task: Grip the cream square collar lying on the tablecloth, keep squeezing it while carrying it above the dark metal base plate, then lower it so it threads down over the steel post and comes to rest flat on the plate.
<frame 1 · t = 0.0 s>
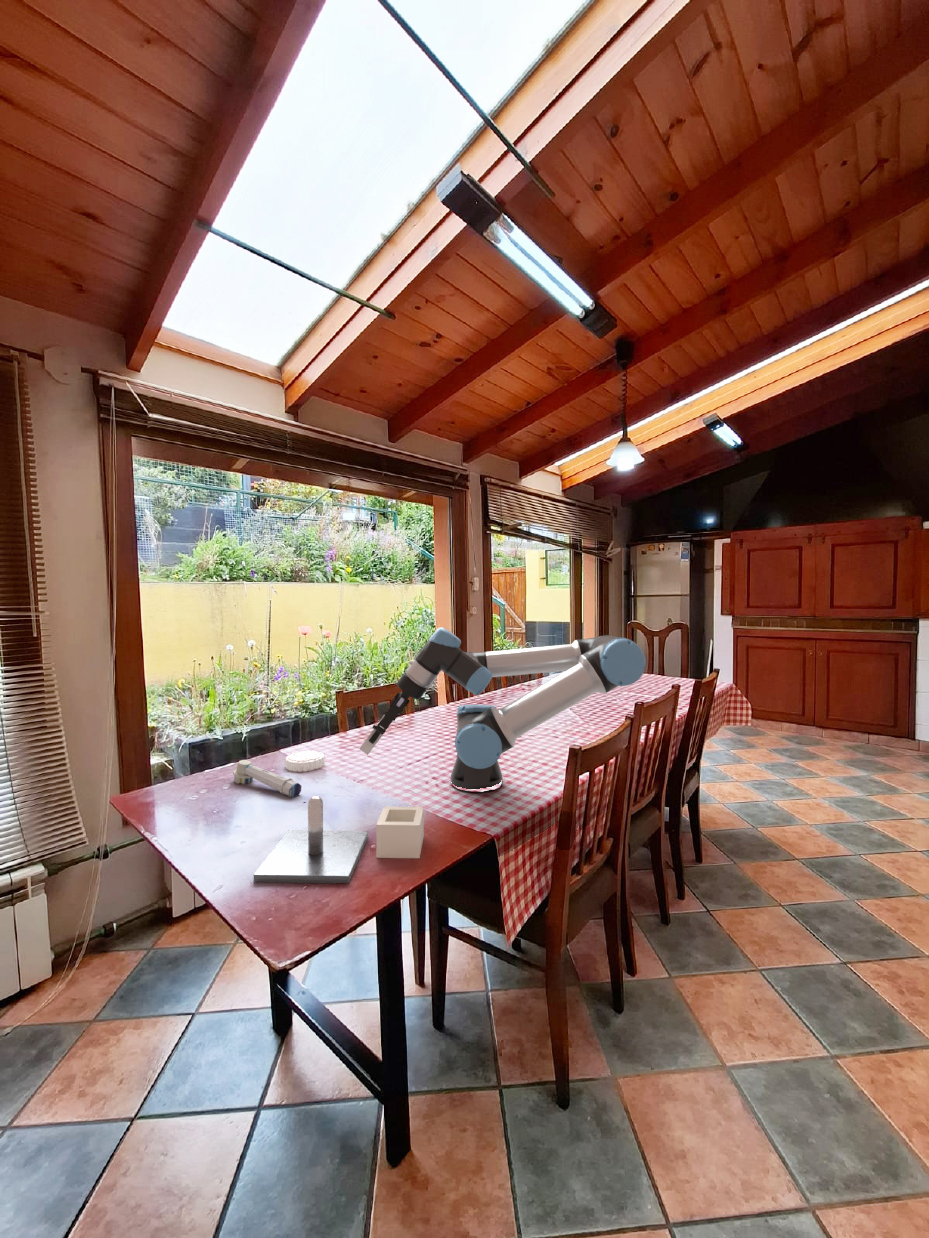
hand: (369, 743, 132), 15 cm above the table, tool tilted 35°, fingers open, 13 cm apart
mooncake: (305, 766, 160), on the table
post base: (315, 858, 103), on the table
collar: (400, 847, 108), on the table
toothbrush head: (265, 789, 141), on the table
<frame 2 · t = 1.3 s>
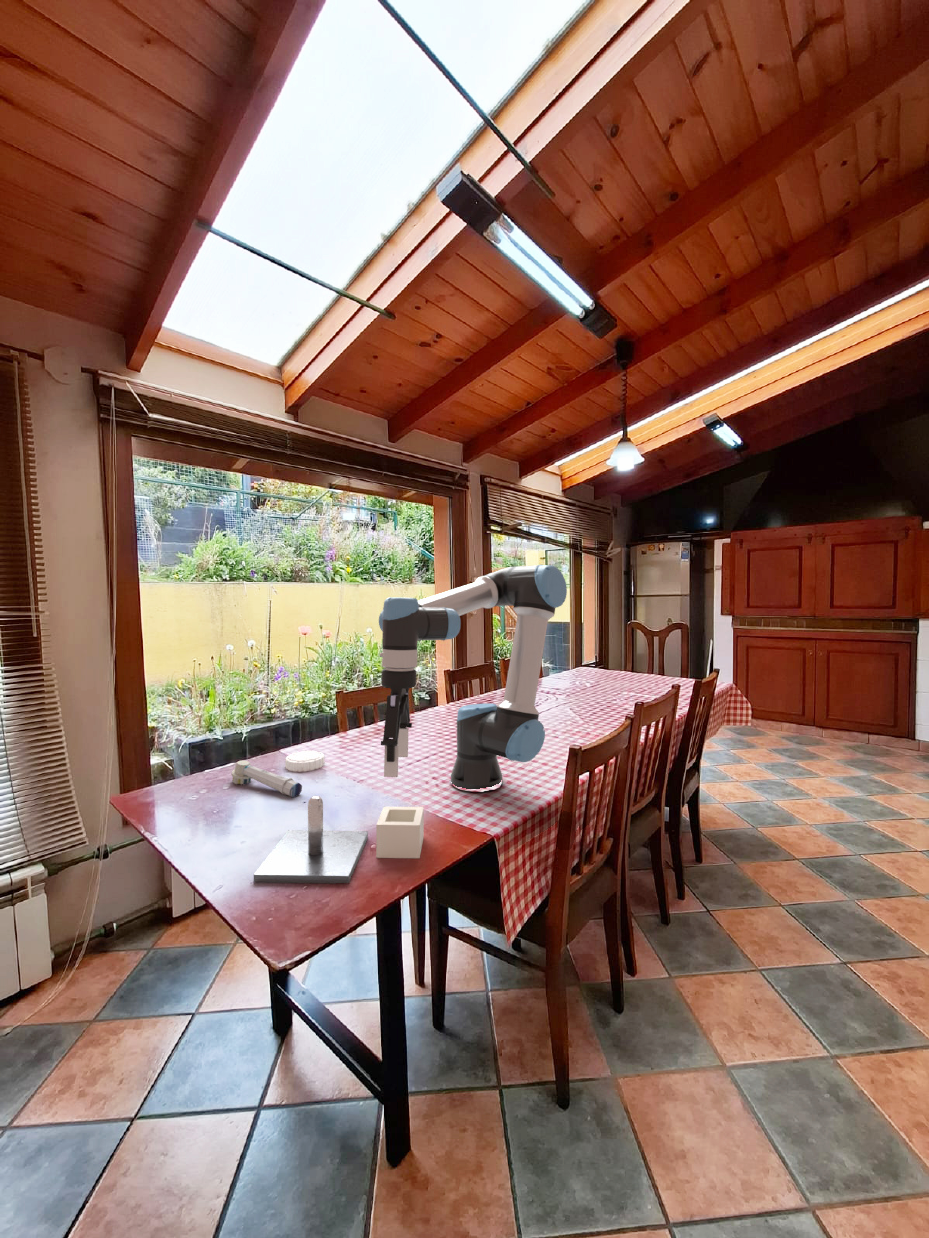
hand: (396, 766, 108), 17 cm above the table, tool pointing down, fingers open, 13 cm apart
nothing on the table moved.
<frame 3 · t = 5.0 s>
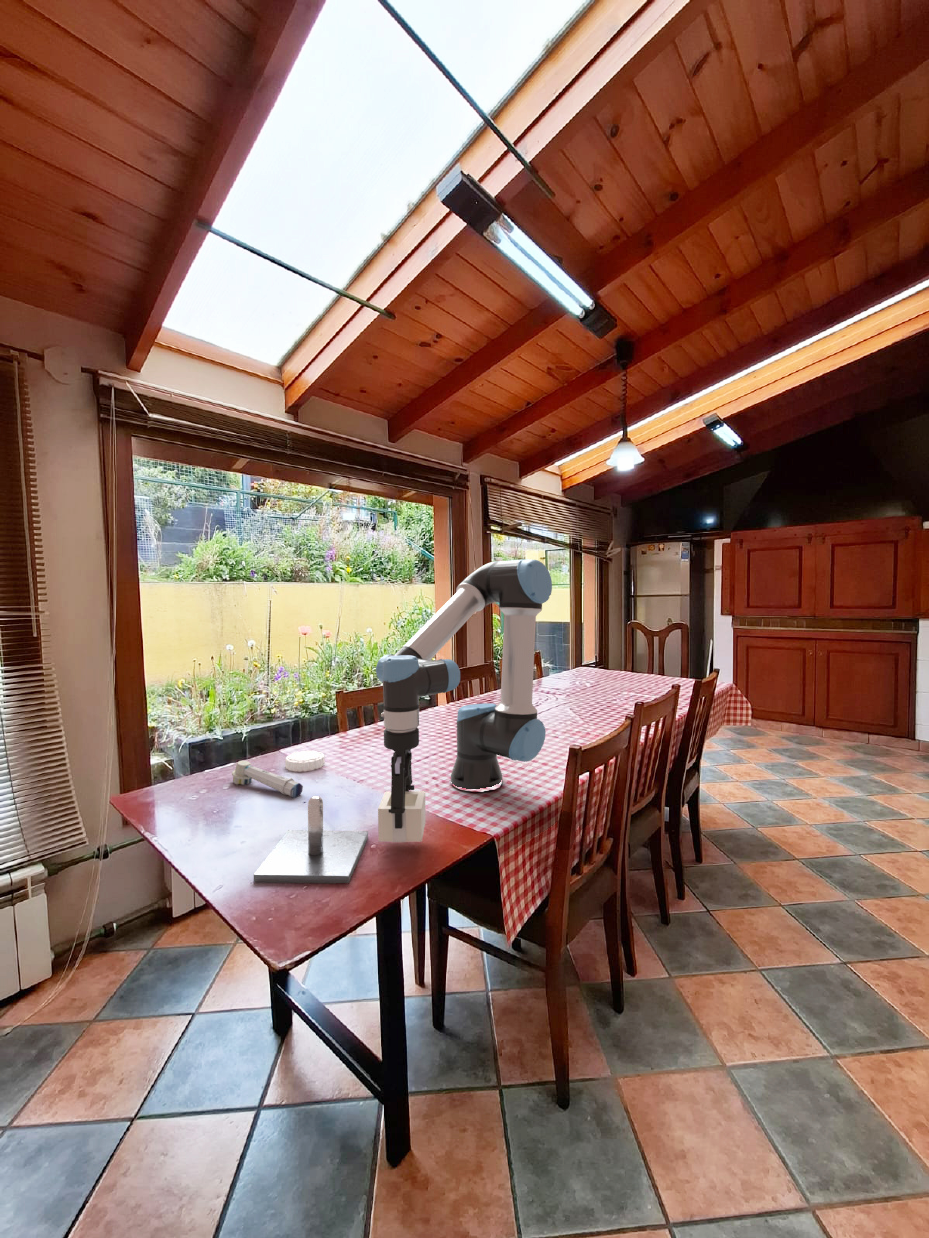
hand: (402, 829, 108), 4 cm above the table, tool pointing down, fingers closed on collar, 9 cm apart
collar: (403, 831, 108), point 3 cm above the table, touching gripper
everything else where it was.
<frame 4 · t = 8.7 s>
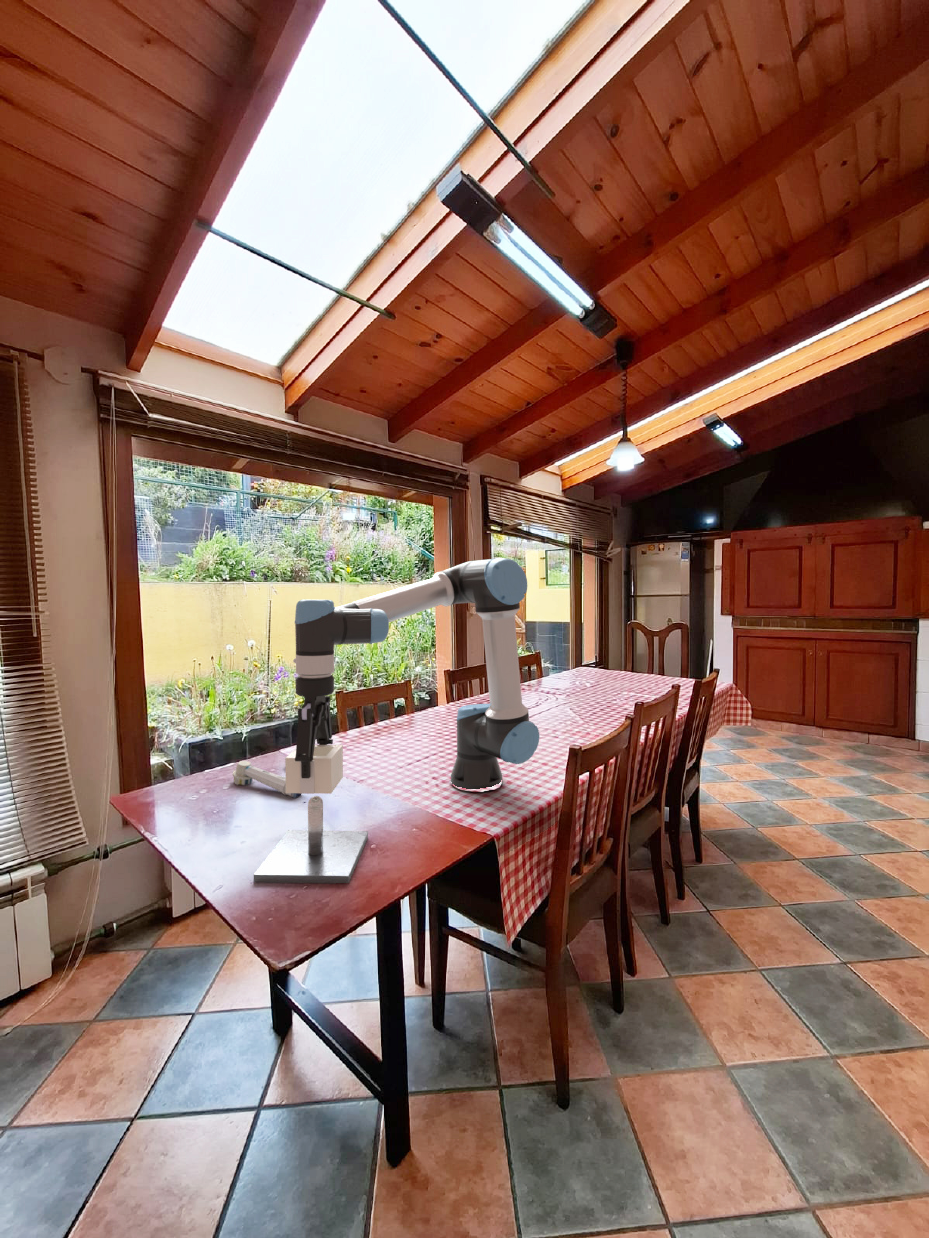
hand: (315, 783, 102), 16 cm above the table, tool pointing down, fingers closed on collar, 9 cm apart
collar: (315, 784, 102), point 15 cm above the table, touching gripper
everything else where it was.
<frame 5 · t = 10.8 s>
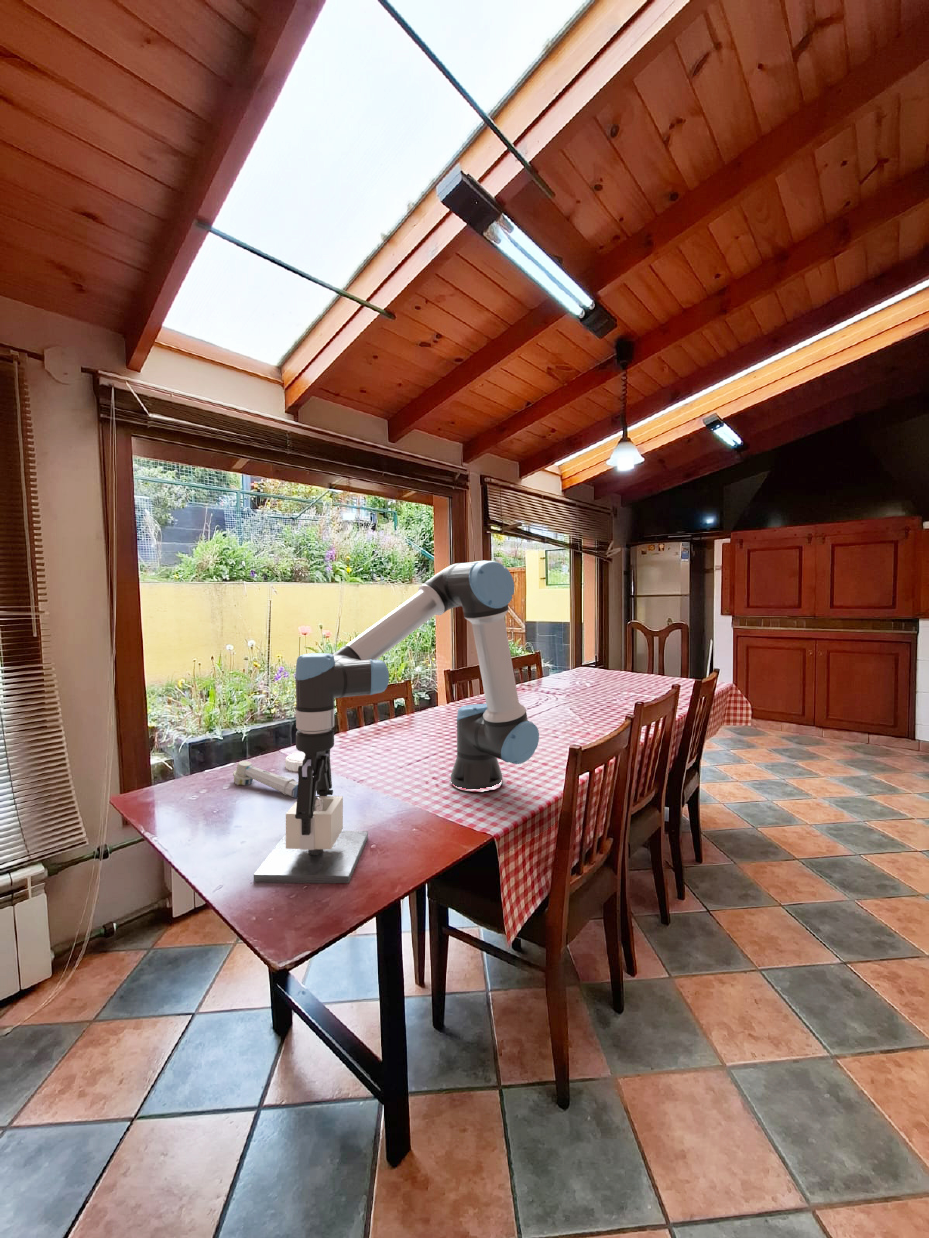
hand: (315, 836, 103), 5 cm above the table, tool pointing down, fingers closed on collar, 9 cm apart
collar: (315, 837, 103), point 4 cm above the table, touching gripper
everything else where it was.
when the fingers open (2 cm above the table, at t = 12.4 s): collar stays where it is, resting on post base.
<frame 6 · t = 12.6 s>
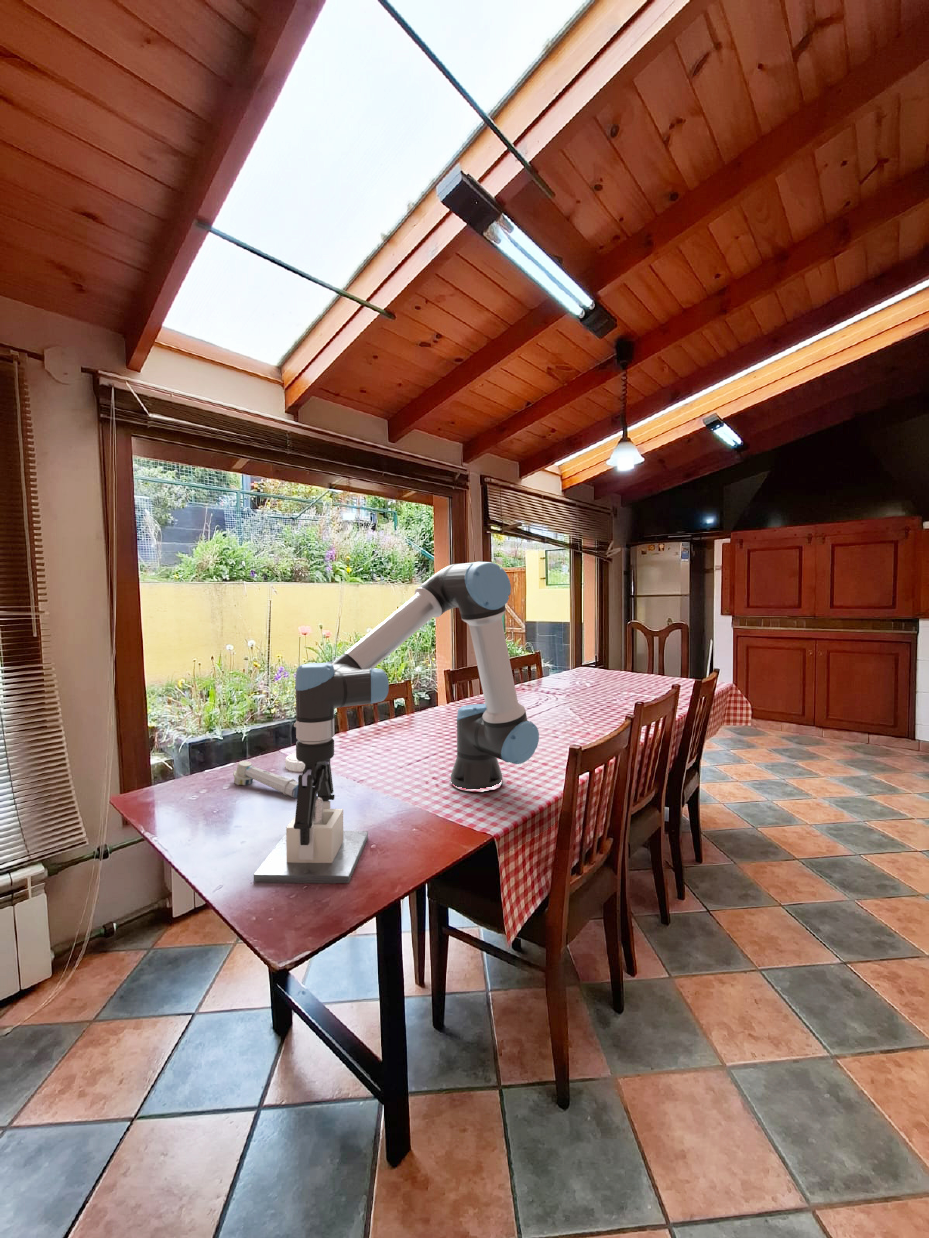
hand: (315, 844, 103), 3 cm above the table, tool pointing down, fingers open, 11 cm apart
collar: (316, 851, 103), point 1 cm above the table, touching post base
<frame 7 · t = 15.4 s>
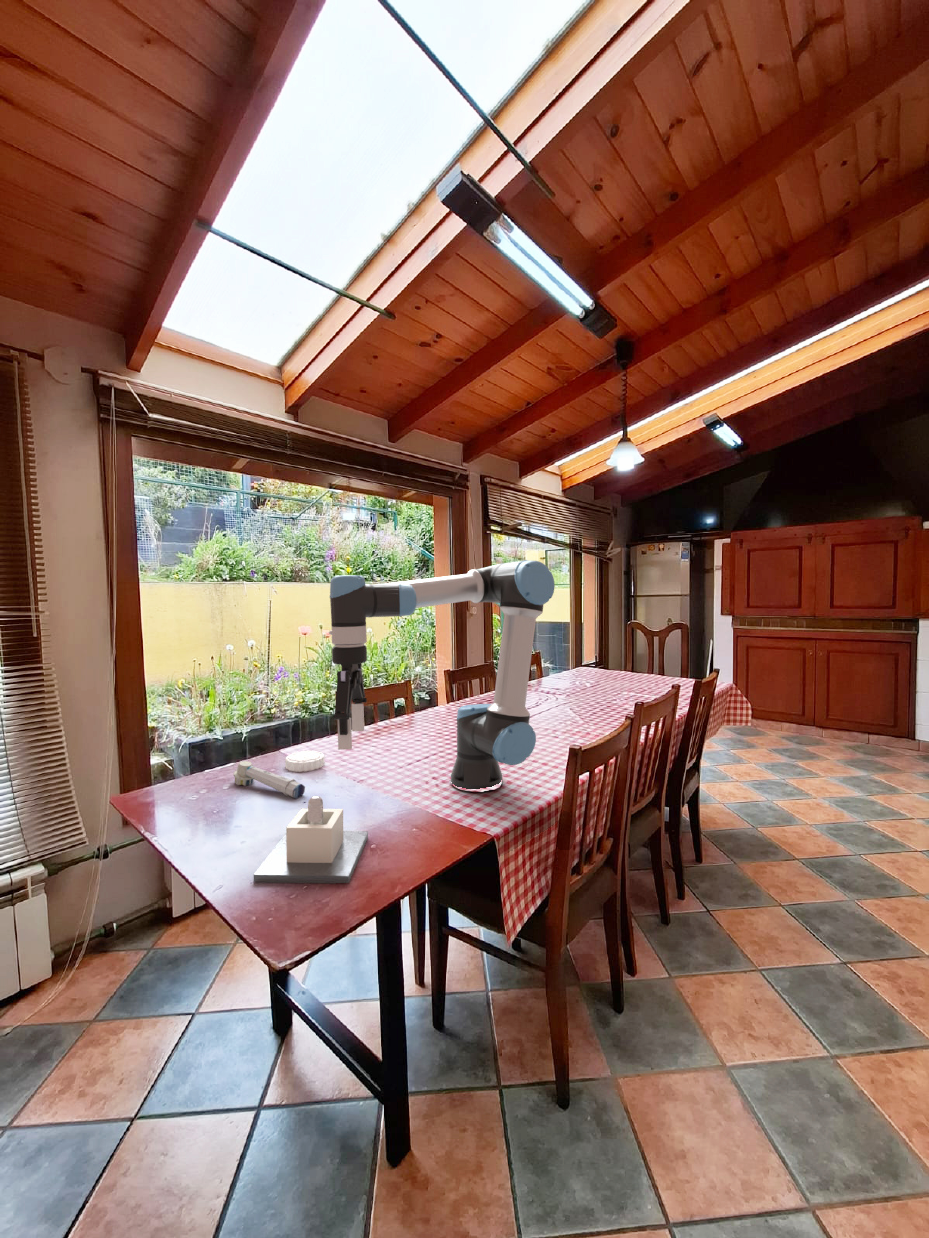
hand: (352, 739, 112), 22 cm above the table, tool pointing down, fingers open, 13 cm apart
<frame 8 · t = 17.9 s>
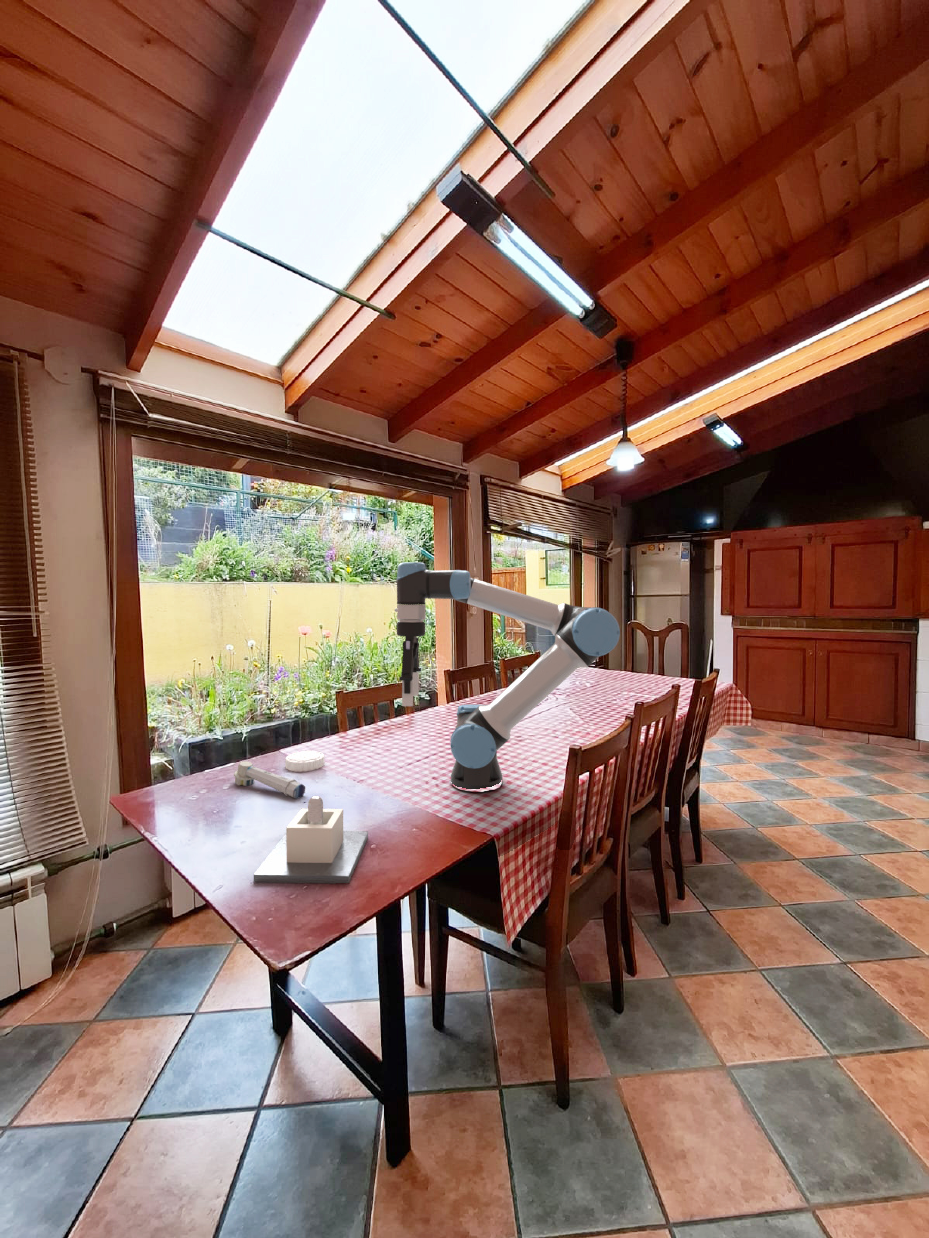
hand: (410, 700, 133), 27 cm above the table, tool pointing down, fingers open, 13 cm apart
at the end: collar 0.1 cm off-centre on the post base, point 1.5 cm above the post base's base; collar tilted 0°; the gripper is holding nothing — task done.
